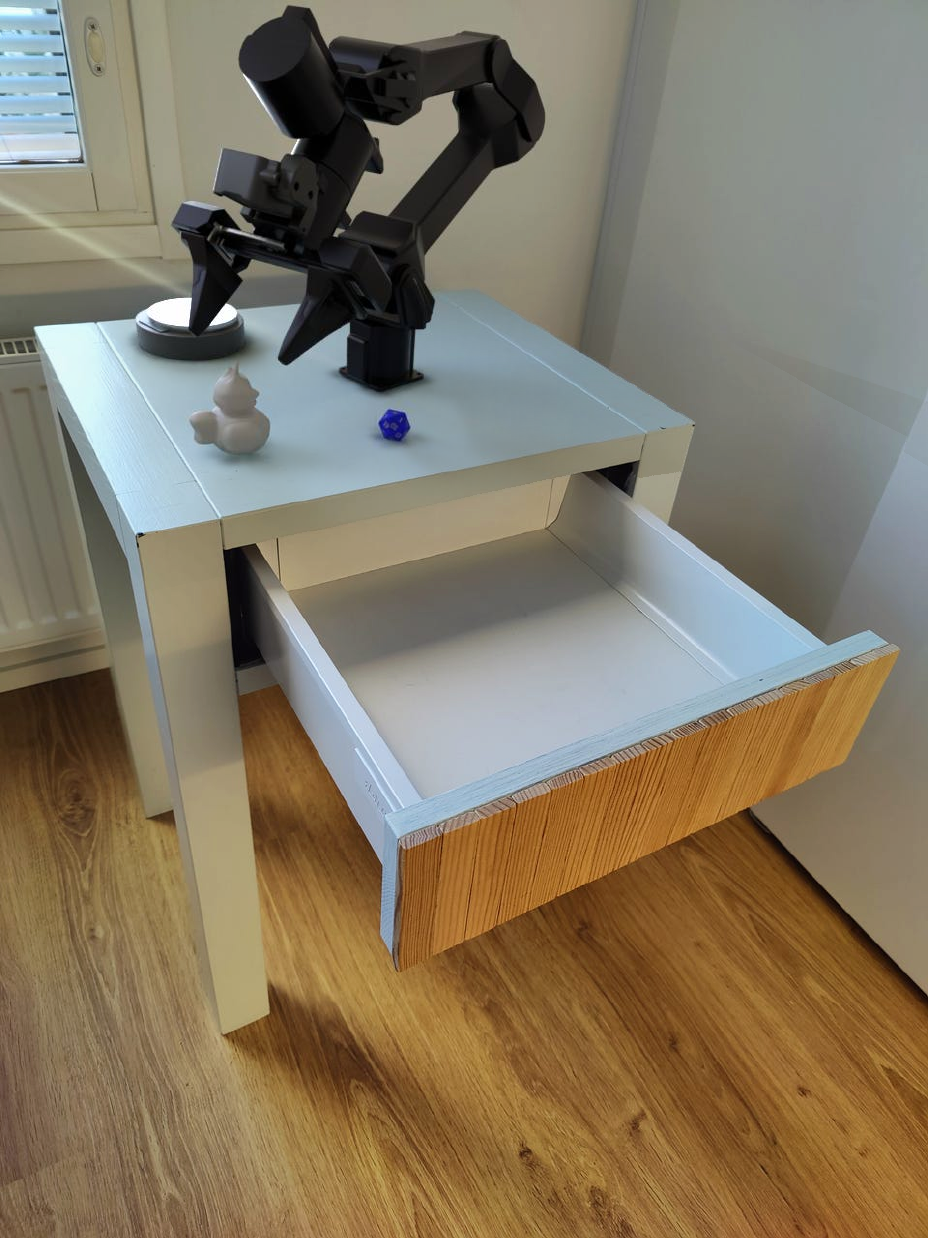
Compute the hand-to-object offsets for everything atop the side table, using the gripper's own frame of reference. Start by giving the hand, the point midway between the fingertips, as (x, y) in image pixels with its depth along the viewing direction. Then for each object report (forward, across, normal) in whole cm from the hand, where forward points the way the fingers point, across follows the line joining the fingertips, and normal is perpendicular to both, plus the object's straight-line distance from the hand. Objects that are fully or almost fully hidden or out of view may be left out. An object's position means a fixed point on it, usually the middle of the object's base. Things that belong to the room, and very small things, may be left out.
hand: (236, 347), depth 70 cm
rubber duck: (+7, 0, +5) cm, 9 cm away
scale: (-5, -21, +17) cm, 27 cm away
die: (-1, +9, +13) cm, 16 cm away
